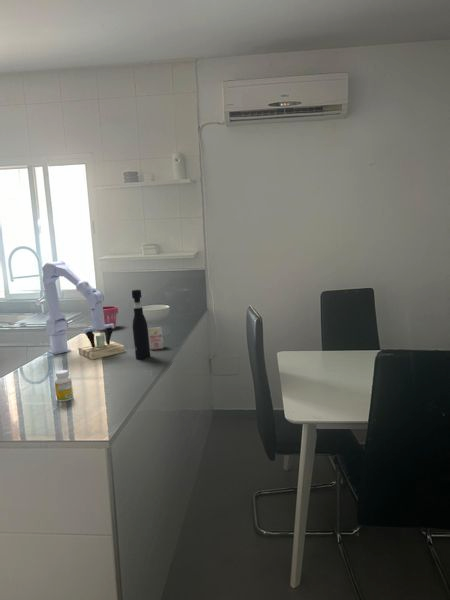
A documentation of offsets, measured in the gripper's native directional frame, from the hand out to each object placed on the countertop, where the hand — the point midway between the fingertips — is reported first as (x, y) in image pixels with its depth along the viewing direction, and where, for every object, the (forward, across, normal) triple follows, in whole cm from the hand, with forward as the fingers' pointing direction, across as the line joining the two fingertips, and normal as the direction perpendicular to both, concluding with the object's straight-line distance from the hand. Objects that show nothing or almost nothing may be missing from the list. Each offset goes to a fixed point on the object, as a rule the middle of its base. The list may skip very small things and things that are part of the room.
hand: (100, 345), depth 220 cm
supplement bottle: (+4, -34, -51) cm, 61 cm away
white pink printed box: (+4, +21, -15) cm, 26 cm away
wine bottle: (+4, +9, -25) cm, 27 cm away
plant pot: (+4, +25, +52) cm, 58 cm away
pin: (+3, 0, 0) cm, 3 cm away
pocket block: (+3, 0, 0) cm, 3 cm away
